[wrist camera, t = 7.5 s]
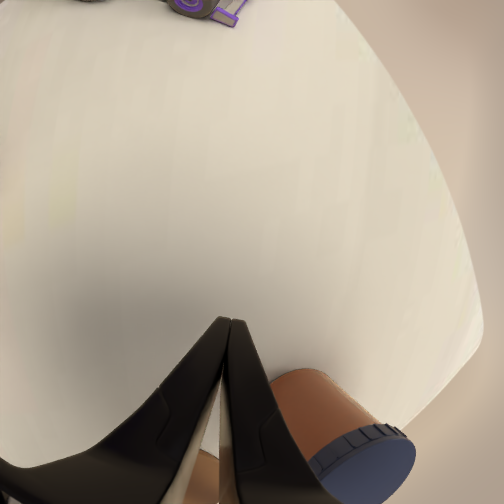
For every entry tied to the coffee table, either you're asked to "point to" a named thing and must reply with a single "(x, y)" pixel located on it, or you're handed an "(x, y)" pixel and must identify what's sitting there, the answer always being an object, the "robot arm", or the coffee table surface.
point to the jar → (317, 409)
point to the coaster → (203, 481)
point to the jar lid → (365, 464)
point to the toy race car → (206, 9)
